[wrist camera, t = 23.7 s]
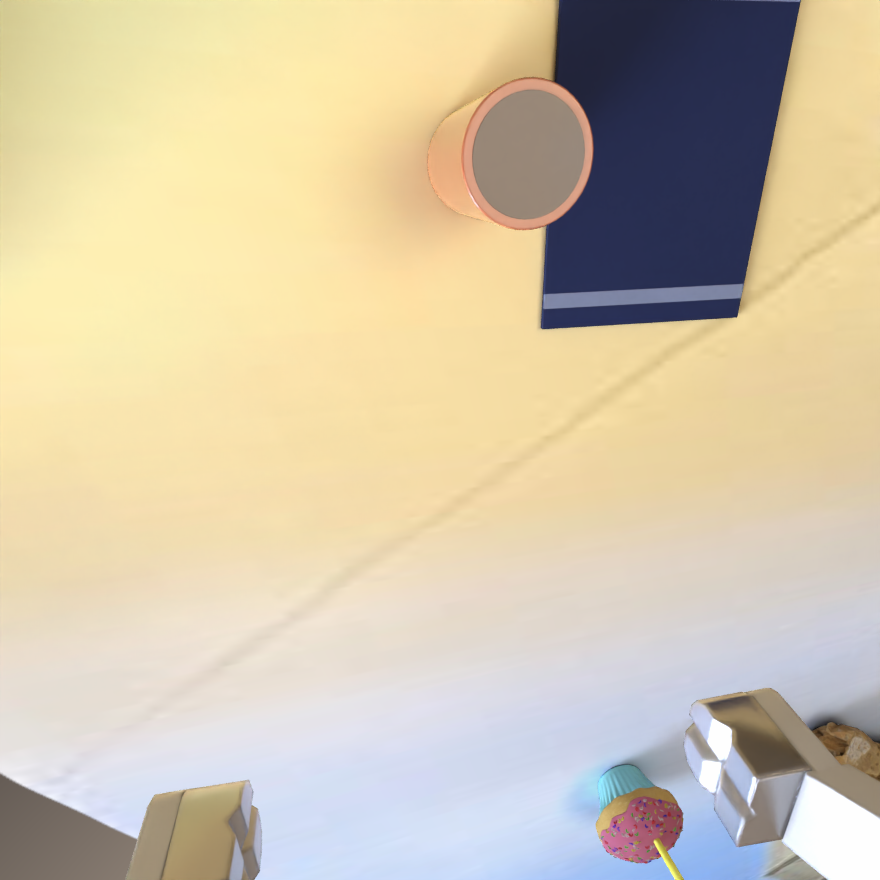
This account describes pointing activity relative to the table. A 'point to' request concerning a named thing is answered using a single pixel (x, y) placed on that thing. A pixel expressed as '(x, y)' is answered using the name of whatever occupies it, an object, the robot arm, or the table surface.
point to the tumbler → (513, 155)
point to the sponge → (851, 747)
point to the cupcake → (637, 817)
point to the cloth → (665, 156)
